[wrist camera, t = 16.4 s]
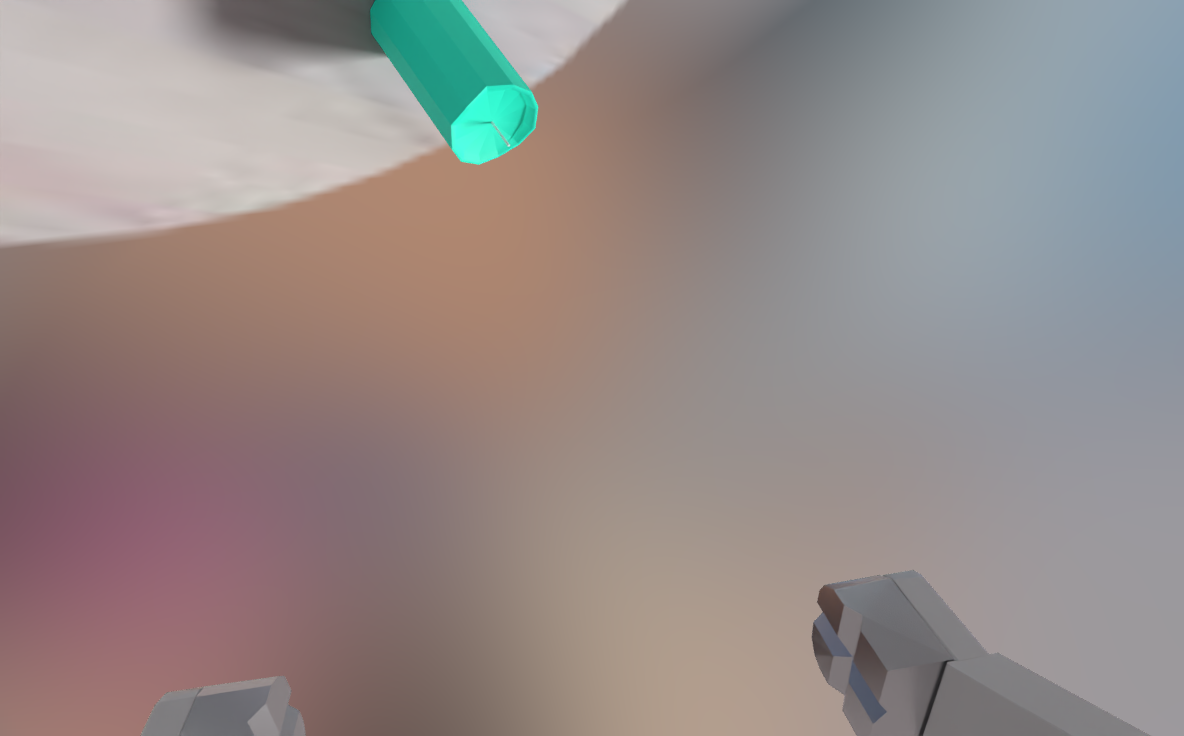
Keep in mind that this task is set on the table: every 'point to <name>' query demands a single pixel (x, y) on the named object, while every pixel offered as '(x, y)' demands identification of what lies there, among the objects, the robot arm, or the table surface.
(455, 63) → the candle
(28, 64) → the table surface
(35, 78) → the table surface
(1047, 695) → the robot arm
